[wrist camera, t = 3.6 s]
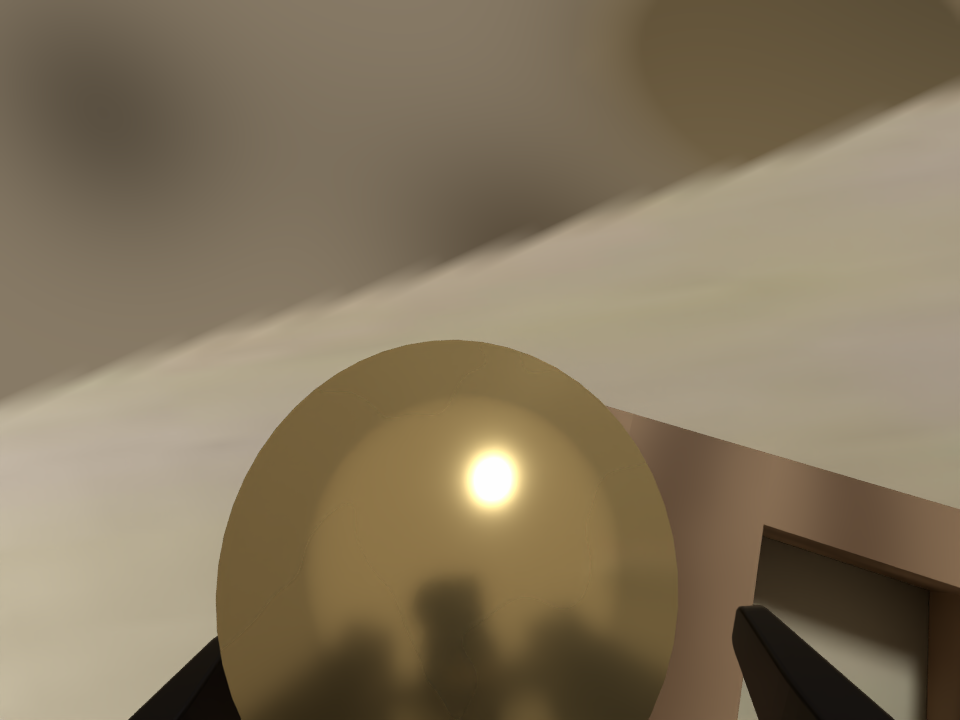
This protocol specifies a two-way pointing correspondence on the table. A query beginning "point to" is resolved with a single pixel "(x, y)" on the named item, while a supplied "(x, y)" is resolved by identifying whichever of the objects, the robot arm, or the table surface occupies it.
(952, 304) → the table surface
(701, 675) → the template plate
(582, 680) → the brass bolt
